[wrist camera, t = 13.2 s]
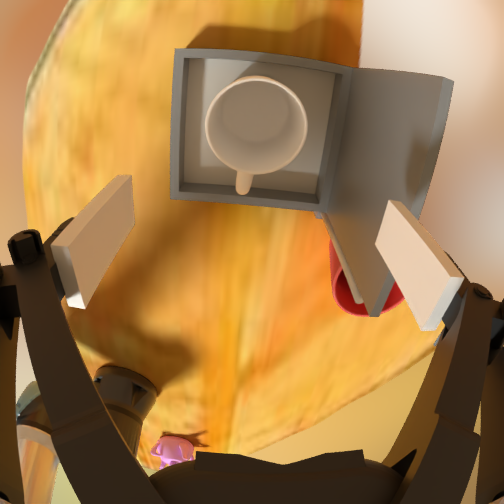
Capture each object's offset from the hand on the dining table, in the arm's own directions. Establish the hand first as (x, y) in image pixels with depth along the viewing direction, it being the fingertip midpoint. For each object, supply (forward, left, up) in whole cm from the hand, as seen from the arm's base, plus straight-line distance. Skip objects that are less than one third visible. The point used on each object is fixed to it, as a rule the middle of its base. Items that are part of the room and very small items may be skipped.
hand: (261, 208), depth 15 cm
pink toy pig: (-15, -88, -23) cm, 93 cm away
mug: (0, 0, -22) cm, 22 cm away
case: (+1, -1, -23) cm, 23 cm away
